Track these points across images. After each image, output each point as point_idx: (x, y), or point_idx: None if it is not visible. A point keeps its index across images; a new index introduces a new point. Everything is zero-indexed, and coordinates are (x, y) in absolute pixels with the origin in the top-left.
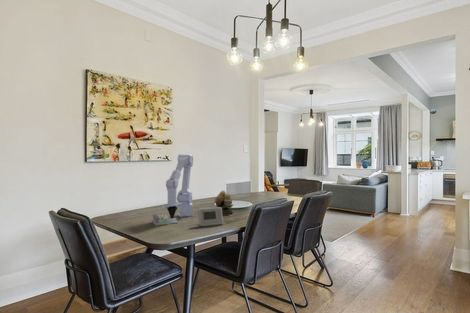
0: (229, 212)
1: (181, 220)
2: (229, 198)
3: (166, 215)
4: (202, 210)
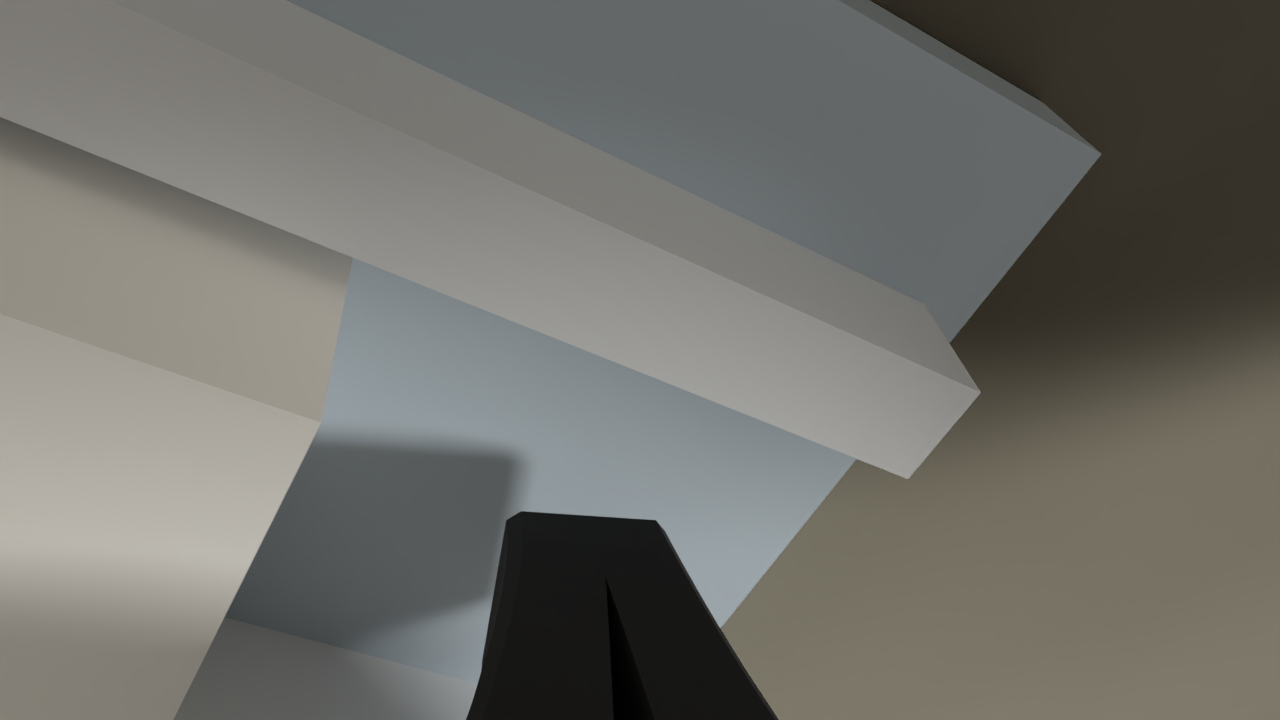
0: None
1: (1022, 574)
2: None
3: (177, 554)
4: None
